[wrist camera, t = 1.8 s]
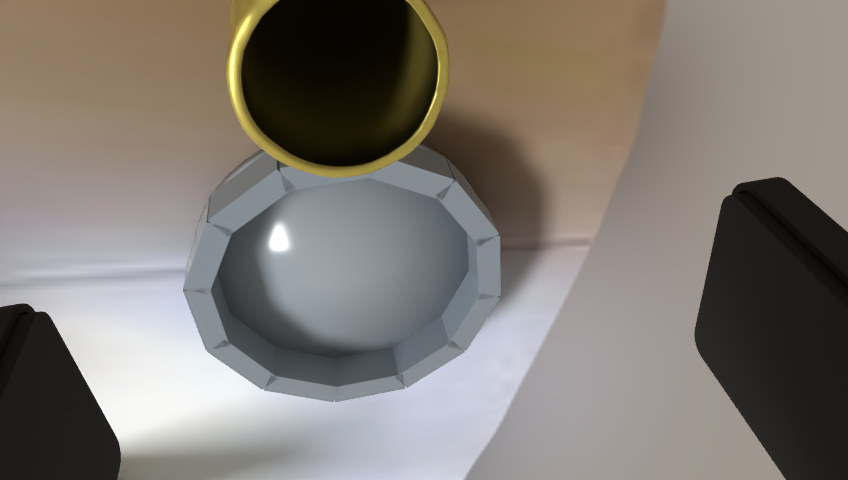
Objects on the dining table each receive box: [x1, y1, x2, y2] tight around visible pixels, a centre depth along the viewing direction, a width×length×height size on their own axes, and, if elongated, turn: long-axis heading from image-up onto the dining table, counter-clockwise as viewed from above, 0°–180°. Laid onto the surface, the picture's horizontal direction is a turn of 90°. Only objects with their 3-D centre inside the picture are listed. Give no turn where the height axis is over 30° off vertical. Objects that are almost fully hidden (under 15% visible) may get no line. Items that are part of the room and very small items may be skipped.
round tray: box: [183, 143, 501, 402], centre depth 36 cm, size 15×15×3 cm
